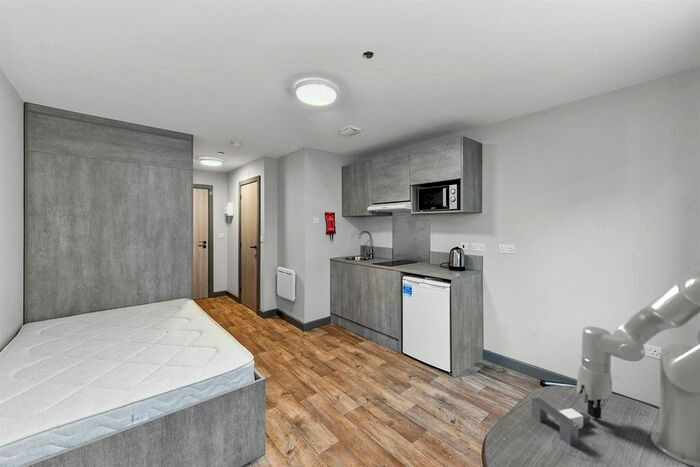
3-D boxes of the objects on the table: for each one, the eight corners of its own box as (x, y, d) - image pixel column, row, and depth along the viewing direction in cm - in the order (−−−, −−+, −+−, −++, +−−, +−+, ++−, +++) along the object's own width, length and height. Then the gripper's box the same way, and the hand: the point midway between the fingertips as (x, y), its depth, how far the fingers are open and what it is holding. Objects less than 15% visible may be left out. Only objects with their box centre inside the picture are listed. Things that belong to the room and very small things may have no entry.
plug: (580, 417, 100) (580, 406, 99) (592, 425, 96) (592, 413, 96) (552, 423, 97) (552, 412, 97) (563, 431, 93) (564, 420, 93)
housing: (538, 413, 102) (538, 397, 101) (578, 443, 88) (578, 424, 88) (531, 415, 101) (531, 398, 101) (570, 445, 87) (570, 426, 87)
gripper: (600, 356, 103) (599, 406, 104) (567, 361, 100) (566, 412, 100) (624, 367, 96) (623, 420, 97) (590, 372, 92) (588, 427, 93)
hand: (594, 416), depth 98 cm, fingers closed
